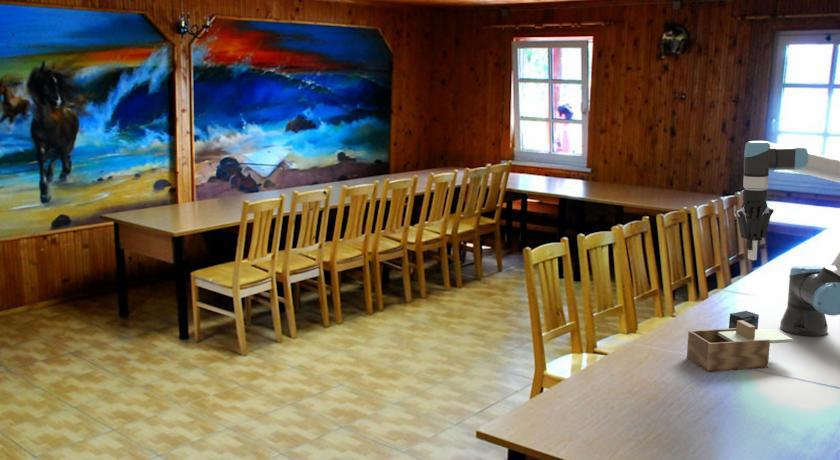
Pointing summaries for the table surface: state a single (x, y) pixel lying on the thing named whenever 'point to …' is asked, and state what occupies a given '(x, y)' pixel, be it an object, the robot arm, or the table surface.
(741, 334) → the lid
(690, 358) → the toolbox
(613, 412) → the table surface
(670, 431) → the table surface
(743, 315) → the box
